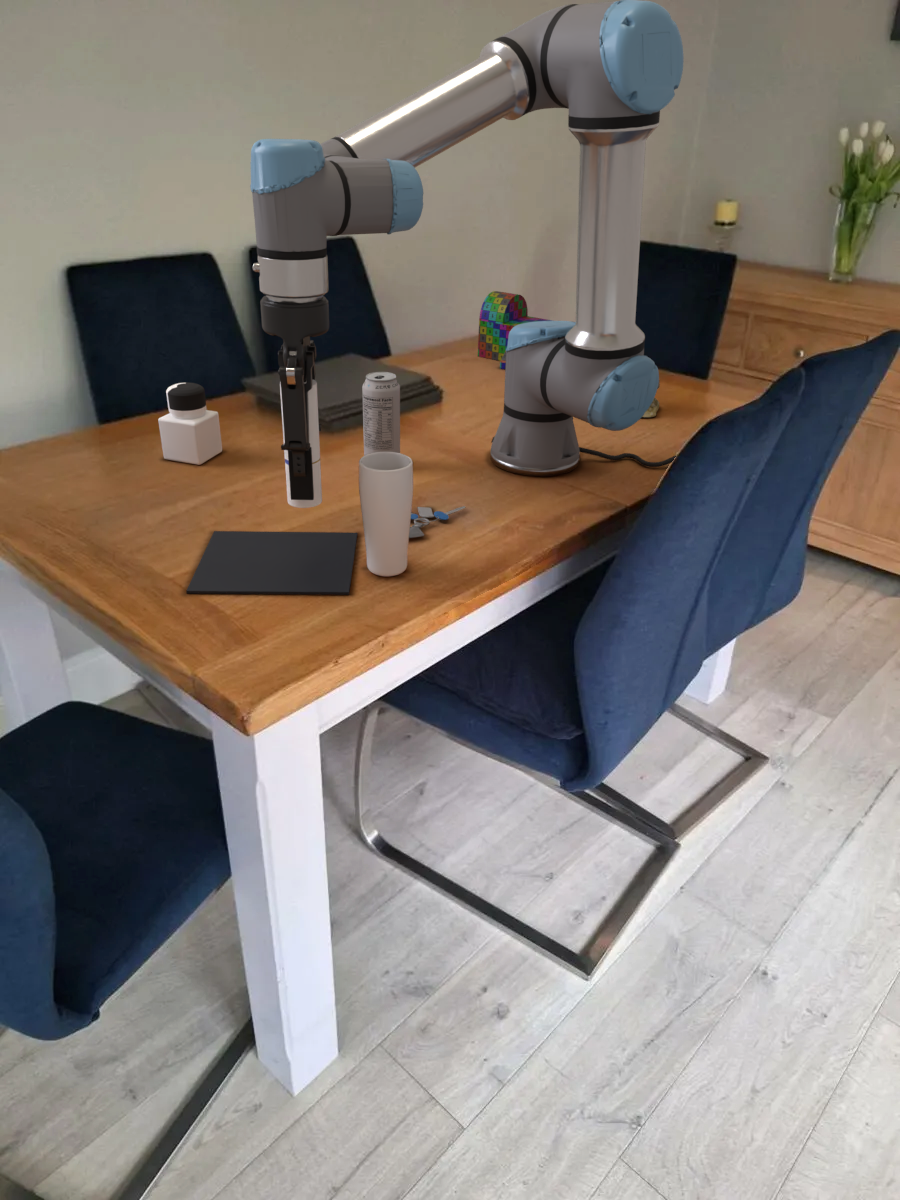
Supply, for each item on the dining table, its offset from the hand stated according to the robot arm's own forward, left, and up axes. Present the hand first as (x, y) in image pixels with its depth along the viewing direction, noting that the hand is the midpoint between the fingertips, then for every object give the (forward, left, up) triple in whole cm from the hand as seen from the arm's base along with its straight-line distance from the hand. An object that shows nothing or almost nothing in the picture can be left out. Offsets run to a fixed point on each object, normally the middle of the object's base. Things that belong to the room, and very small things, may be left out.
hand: (304, 490), depth 109 cm
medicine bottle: (+24, -40, -11) cm, 48 cm away
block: (-40, -103, -11) cm, 111 cm away
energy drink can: (-8, -37, -11) cm, 40 cm away
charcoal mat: (+4, -2, -11) cm, 12 cm away
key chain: (-14, -15, -11) cm, 23 cm away
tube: (0, 0, -2) cm, 2 cm away
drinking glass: (-10, 0, -11) cm, 15 cm away
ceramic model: (-56, -70, -11) cm, 90 cm away
